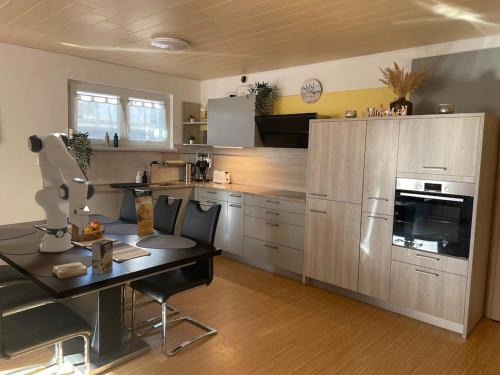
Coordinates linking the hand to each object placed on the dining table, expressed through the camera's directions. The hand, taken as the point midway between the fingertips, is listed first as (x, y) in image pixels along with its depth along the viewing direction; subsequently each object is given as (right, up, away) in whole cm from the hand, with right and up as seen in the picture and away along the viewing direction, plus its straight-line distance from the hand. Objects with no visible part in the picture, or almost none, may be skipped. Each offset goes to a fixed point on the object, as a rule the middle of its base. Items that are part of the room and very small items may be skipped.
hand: (77, 233), depth 203 cm
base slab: (0, -19, -9) cm, 21 cm away
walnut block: (0, -3, 0) cm, 3 cm away
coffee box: (+15, -20, -5) cm, 25 cm away
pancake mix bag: (+14, -10, +78) cm, 80 cm away
